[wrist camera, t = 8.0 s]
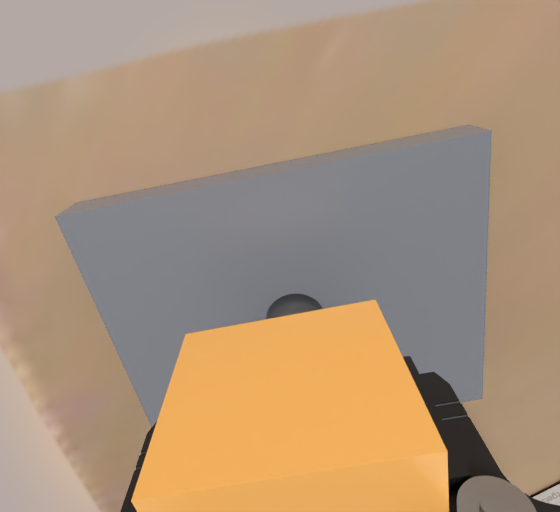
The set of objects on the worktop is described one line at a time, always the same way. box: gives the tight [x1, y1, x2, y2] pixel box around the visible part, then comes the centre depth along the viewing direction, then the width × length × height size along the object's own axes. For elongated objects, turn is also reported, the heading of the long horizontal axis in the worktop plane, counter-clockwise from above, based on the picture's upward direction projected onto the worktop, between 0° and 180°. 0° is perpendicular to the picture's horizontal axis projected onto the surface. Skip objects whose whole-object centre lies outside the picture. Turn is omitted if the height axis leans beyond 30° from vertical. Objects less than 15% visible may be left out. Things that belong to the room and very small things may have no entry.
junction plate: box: [55, 125, 491, 427], centre depth 14 cm, size 14×11×4 cm
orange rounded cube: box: [131, 300, 449, 512], centre depth 9 cm, size 5×5×5 cm
